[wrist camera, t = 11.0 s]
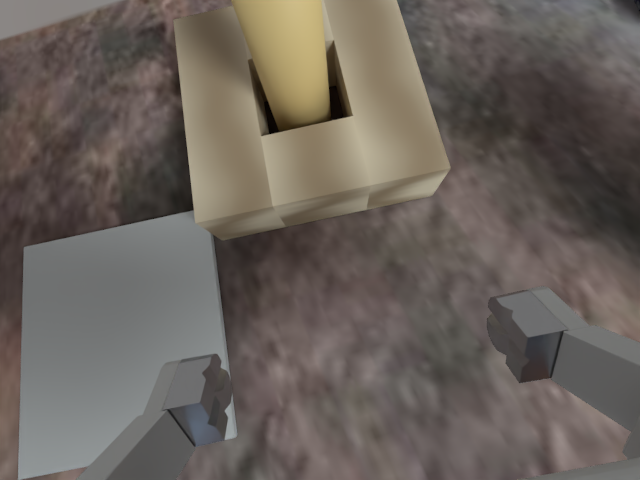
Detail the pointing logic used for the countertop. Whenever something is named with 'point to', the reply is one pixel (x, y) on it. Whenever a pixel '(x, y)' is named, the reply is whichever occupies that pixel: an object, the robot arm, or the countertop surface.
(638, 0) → the dark blue cylinder
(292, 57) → the peg
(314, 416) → the countertop surface
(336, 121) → the hole block
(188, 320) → the mat
